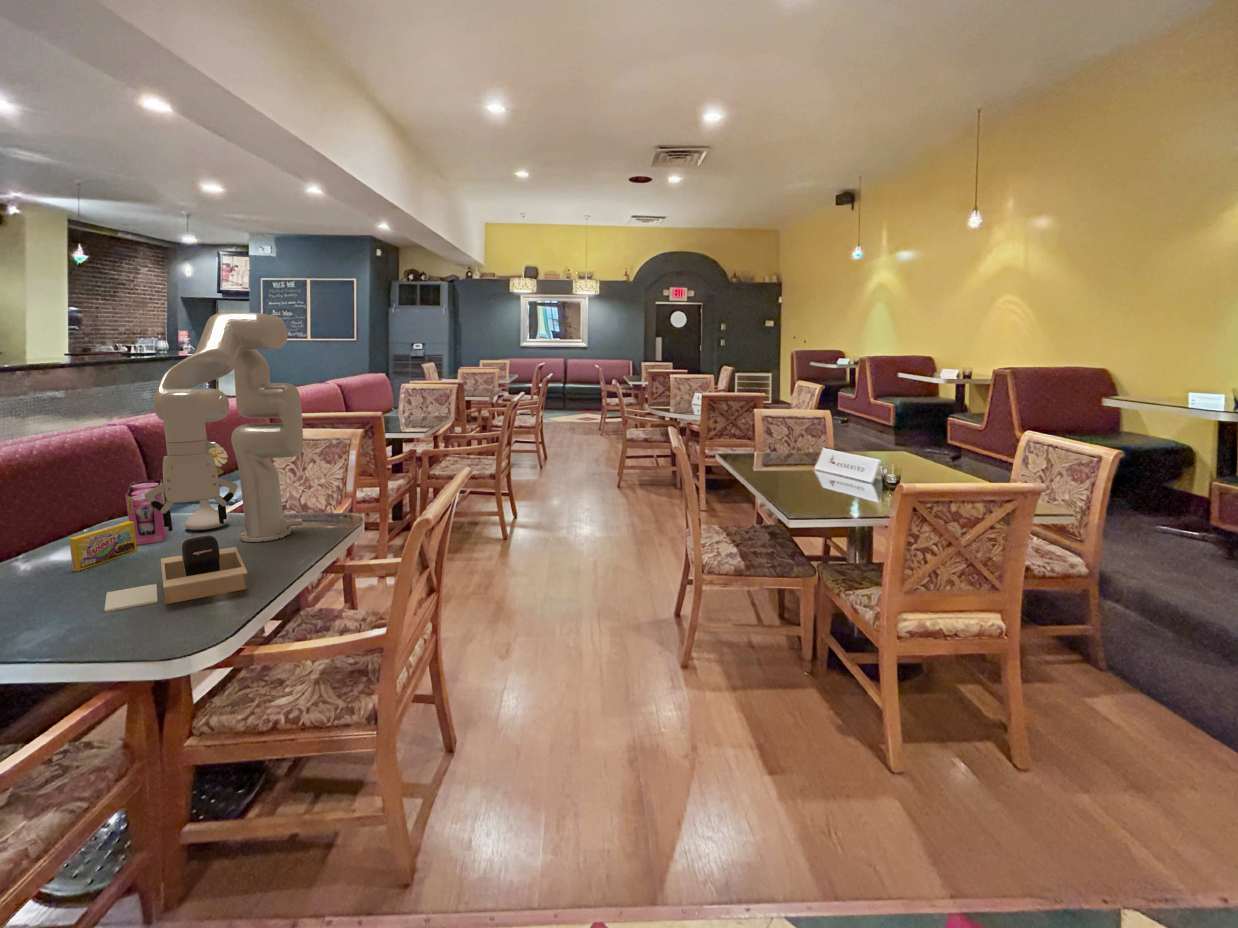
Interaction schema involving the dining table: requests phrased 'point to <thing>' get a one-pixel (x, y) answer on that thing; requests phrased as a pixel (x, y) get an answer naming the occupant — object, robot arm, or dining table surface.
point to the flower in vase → (205, 513)
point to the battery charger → (200, 555)
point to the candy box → (102, 545)
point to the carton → (203, 578)
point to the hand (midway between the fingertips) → (196, 526)
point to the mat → (131, 597)
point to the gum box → (145, 513)
